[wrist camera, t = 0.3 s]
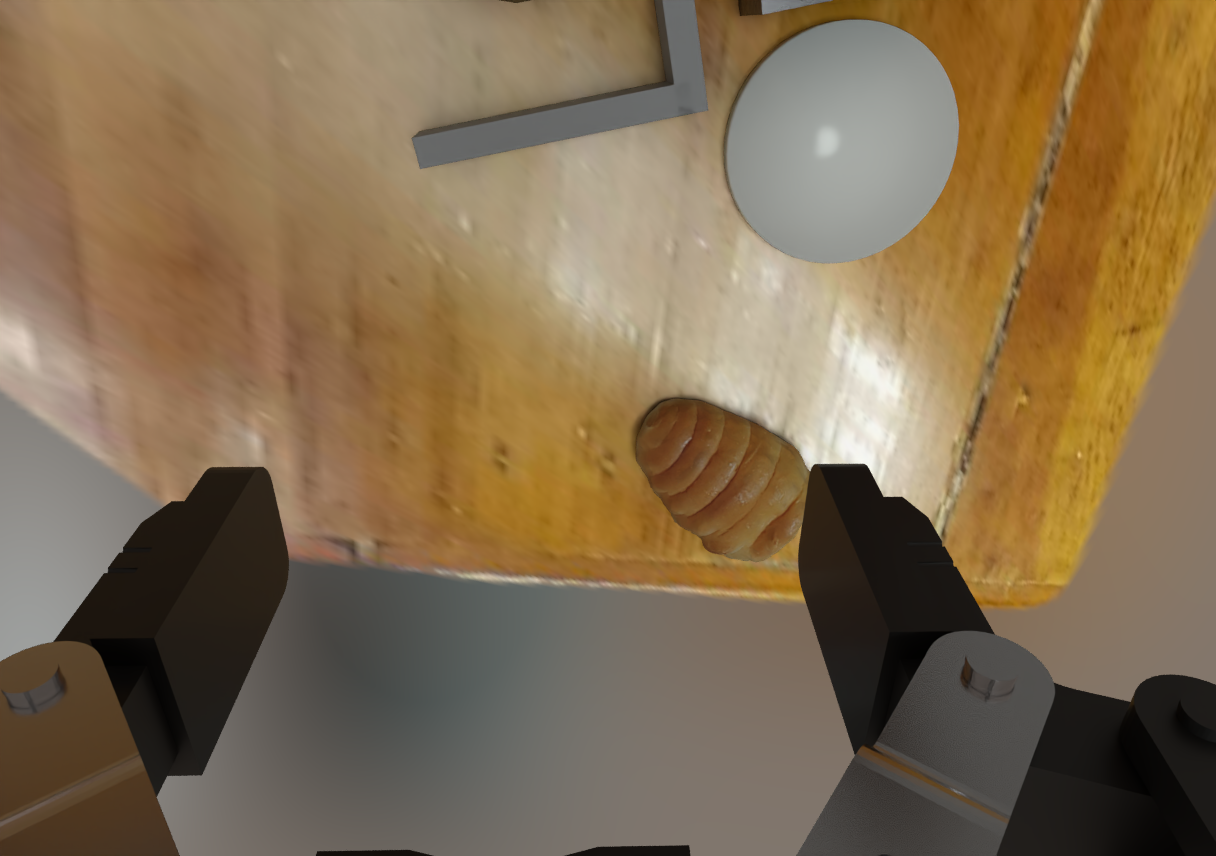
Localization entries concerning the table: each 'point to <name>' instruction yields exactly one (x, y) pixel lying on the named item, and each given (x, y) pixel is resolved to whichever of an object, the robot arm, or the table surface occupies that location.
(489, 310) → the table surface
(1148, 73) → the table surface
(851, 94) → the saucer
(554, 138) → the grey u-shaped frame
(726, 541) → the pastry
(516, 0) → the cork
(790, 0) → the open storage bin
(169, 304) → the table surface
